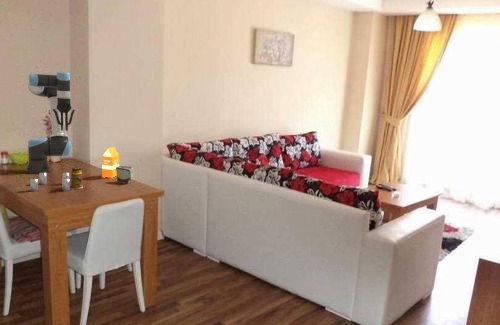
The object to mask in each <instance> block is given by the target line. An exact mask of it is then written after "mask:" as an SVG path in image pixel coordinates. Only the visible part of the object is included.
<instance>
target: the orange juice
mask: <svg viewBox="0 0 500 325" xmlns="http://www.w3.org/2000/svg"><path fill="white" fill-rule="evenodd" d="M117 166H120V155H119V153H118V151H117V150H116V147H114V146H113V147H109V148H107V149H106V150H105V152H104V153H103V154H102V156H101V169H102V170H101V171H102V172H101V174H102V176H101V177H102V178H105V177H110V178H109V179H114V178H113V177H115V176H117V174H116V170H115V169H116V167H117ZM115 178H116V177H115Z"/></svg>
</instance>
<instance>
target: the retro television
mask: <svg viewBox="0 0 500 325" xmlns="http://www.w3.org/2000/svg"><path fill="white" fill-rule="evenodd" d="M115 170H116V174H117V177H116V182H118V183H122V184H126V183H127V185H129V183H131V179H132V172H133V168H132V167H131V166H127V165H122V166H121V165H119V166H117V167H116V169H115Z"/></svg>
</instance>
